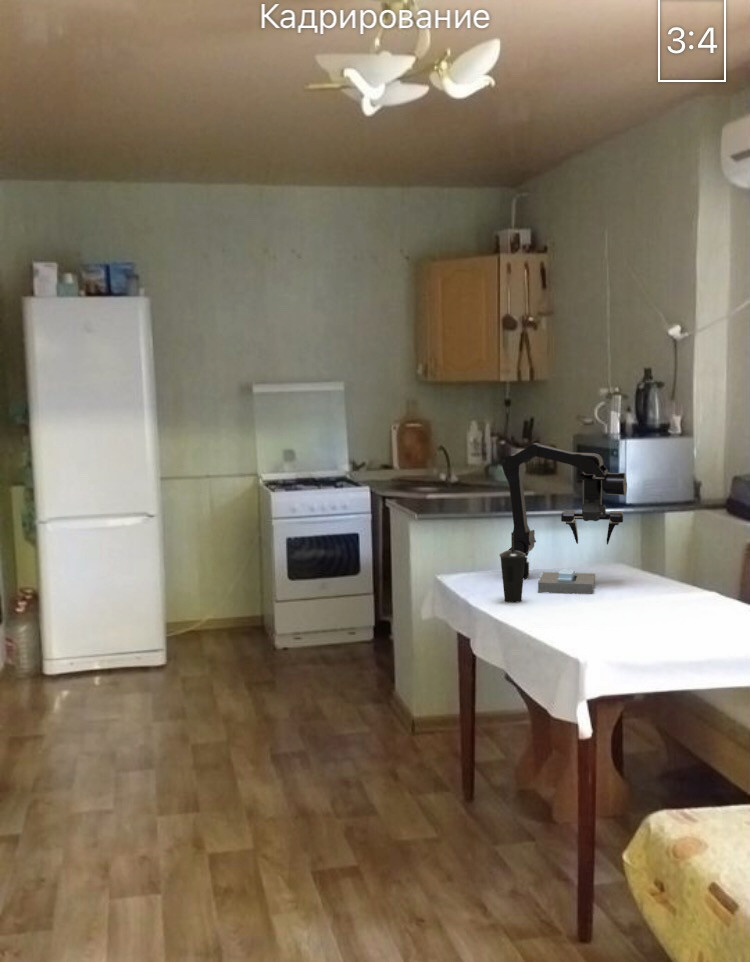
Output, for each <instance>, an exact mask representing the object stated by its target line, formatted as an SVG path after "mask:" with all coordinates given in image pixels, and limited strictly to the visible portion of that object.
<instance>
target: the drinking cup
mask: <svg viewBox="0 0 750 962" xmlns="http://www.w3.org/2000/svg"><path fill="white" fill-rule="evenodd" d="M510 538H511V539H510V540H511V544H510V545H511V546H512V550H509V549H508V550H505V551H503V552H501V553H499V558H500V566H501V574H502V575H501V577H502V586H503V587H502V588H503V595H504V601H505V602H507V603H520V602H522V598H523V587H524V579H523V576H524V564H525V557H527V556H526V554H525V553H523V552H521V551H518V550H514V532H513V531H512V532H511V537H510Z"/></svg>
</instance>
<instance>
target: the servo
mask: <svg viewBox="0 0 750 962" xmlns="http://www.w3.org/2000/svg"><path fill="white" fill-rule="evenodd" d="M558 573H559V578H558V581H569V582H571V581H575V575H576V573H577V572H576V570H575V569H561V570H560V571H559V572H558Z"/></svg>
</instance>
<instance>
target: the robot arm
mask: <svg viewBox="0 0 750 962" xmlns="http://www.w3.org/2000/svg"><path fill="white" fill-rule="evenodd" d="M536 457H538V458H543V459H546V460H550V461H554V462H558V463H562V464H567V465H570V466H572V467H574V468H576V469H577V470H580V471H581V472H580V474H579V475H578V476H577V477H575V479H576V480H577V481H580V480H581V481H582V507H581V513H576V510H563V511H562V512H561V516H560V517H561V519H560V522H561V523H562V522H563V523H565V525H568V526H569V528H570V529H571V531H572V534H573V537H574V540H575V543H576V545H577V544H579V535H578V534H579V533H578V526H577V520H582V521H584V522H589V521H593V522H598V521H600V520H602V521H605V520H607V521H609V522H608V527H607V533H606V534H607V535H606V545H609V543H610V541H611V540H610V539H611V537H612V534H613V531H614V529H615V527H616V526H619V524H620V523H624V512H623V511H622V510H619V511H618V510H617V511H616V510H614V511H612V510H610V512H609V513H606V512H607V511H606V510H607V508H606V504H602V501H603V500H602V496H603V493H602V492H604V493H605V495H609V496H610V495H611V496H626V494H627V492H628V482H627V477H626V473H625V472H620V473H618V472H615V473H614V472H613V473H611V472H610V471H609V470H608V468H607V467H606V466H605V464H604V460H603V457H602V456H601V455H600V454H598V453H594V452H573V451H571V450H570V451H569V450H566V449H561V448H557V447H553V446H548V445H544V444H541V443H539V442H535V443H531V444H530V445H528V446H526V448H524V449H522V450H521V451H519V452H517V453H513V454H510V455H506V456H505V457H503V460H502V461H501V467H502V471H503V474H504V476H505V479H506V481H507V483H508V487H509V488H508V489H509V496H510V503H511V504H510V506H511V514H512V520H513V521H512V522H513V530H512V532H514V550H518V551H521V552H523V553H525V554H526V557H525V564H524V576H523V580H524V579H527V578H528V577H529V576H530V561H528V556H529V553H530V552H531V551H532V550H533V549H534V547H535V543H536V542H537V540H536V538H535V537H536V536H535V534H536V533H535V529H532V530H531V529H530V527H529V525H528V517H527V508H526V501H525V500H526V499H525V491H524V483H523V481H524V476H525V471H526V468H525V467H526V464H527V463H528V462H530V461H532V460H533V459H534V458H536ZM508 550H512V546H511V547H509V549H508Z"/></svg>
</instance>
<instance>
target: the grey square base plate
mask: <svg viewBox="0 0 750 962" xmlns="http://www.w3.org/2000/svg"><path fill="white" fill-rule="evenodd" d="M575 573H576V575H575V581H571V582H569V581H558V578H559V572H549V571H547V572H546V571H544V572H542V574H541V576H540V578H539V580H538V583H537V593H541V592H552V593H551V594H572V593H575V595H576V594H577V593H578V595H579V594H580V595H593V594H594V590H595V585H596V573H583V572H581V573H579V572H575Z"/></svg>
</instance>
